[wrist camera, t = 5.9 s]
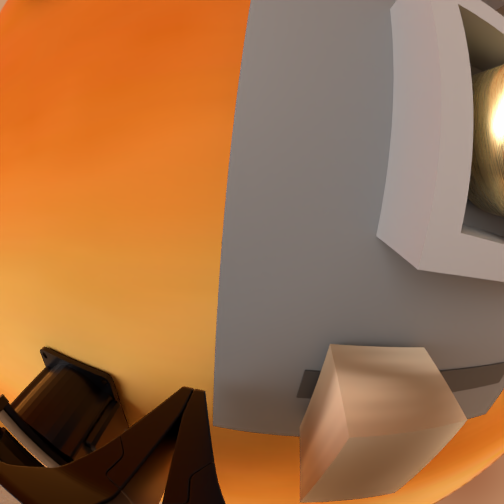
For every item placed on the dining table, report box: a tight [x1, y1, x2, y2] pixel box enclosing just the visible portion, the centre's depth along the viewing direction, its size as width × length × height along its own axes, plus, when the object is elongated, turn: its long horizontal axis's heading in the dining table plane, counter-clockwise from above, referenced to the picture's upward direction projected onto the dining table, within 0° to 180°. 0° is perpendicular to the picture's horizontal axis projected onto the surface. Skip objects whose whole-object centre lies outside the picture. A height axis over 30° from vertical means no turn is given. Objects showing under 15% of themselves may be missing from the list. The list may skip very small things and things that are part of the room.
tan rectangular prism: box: [300, 344, 467, 502], centre depth 7 cm, size 4×5×4 cm
